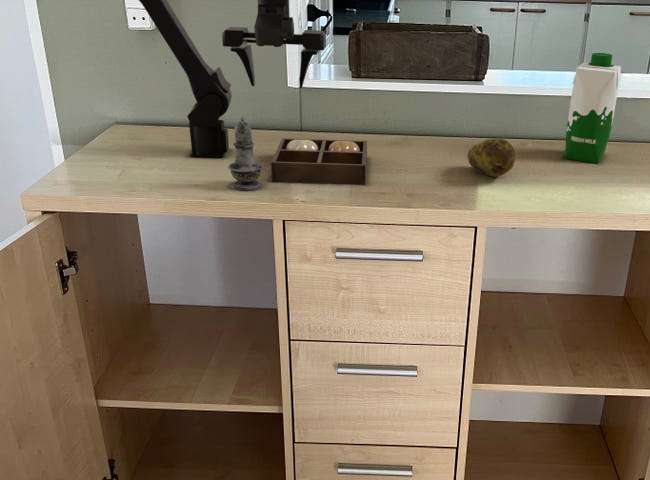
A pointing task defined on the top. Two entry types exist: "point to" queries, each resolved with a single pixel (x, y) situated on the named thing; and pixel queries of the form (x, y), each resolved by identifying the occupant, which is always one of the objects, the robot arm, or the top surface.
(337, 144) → the brown egg
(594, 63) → the milk carton
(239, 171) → the grey chess piece
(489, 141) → the potato
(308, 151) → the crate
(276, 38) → the robot arm
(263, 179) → the top surface
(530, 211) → the top surface
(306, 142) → the cream egg
